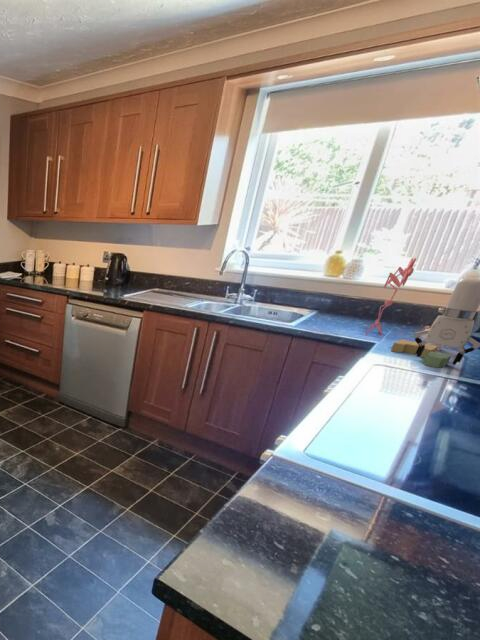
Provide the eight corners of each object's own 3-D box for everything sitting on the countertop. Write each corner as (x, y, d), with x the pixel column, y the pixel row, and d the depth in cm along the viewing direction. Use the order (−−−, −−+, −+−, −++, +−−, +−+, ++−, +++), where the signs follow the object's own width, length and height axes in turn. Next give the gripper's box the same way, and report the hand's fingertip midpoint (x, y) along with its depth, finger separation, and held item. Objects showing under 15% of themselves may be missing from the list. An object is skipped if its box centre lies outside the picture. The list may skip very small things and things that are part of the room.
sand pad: (434, 354, 170) (438, 346, 169) (428, 358, 164) (432, 349, 163) (397, 347, 178) (401, 339, 177) (390, 350, 172) (394, 342, 171)
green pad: (420, 364, 156) (424, 355, 155) (426, 360, 162) (431, 351, 160) (441, 368, 152) (446, 359, 151) (447, 364, 158) (451, 355, 156)
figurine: (361, 336, 195) (393, 257, 182) (364, 327, 212) (393, 255, 199) (407, 343, 185) (444, 261, 172) (406, 334, 203) (439, 258, 190)
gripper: (422, 310, 155) (402, 354, 162) (493, 320, 142) (468, 368, 149) (427, 308, 159) (407, 352, 166) (496, 318, 146) (471, 365, 153)
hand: (436, 359), depth 157 cm, fingers open, 9 cm apart
